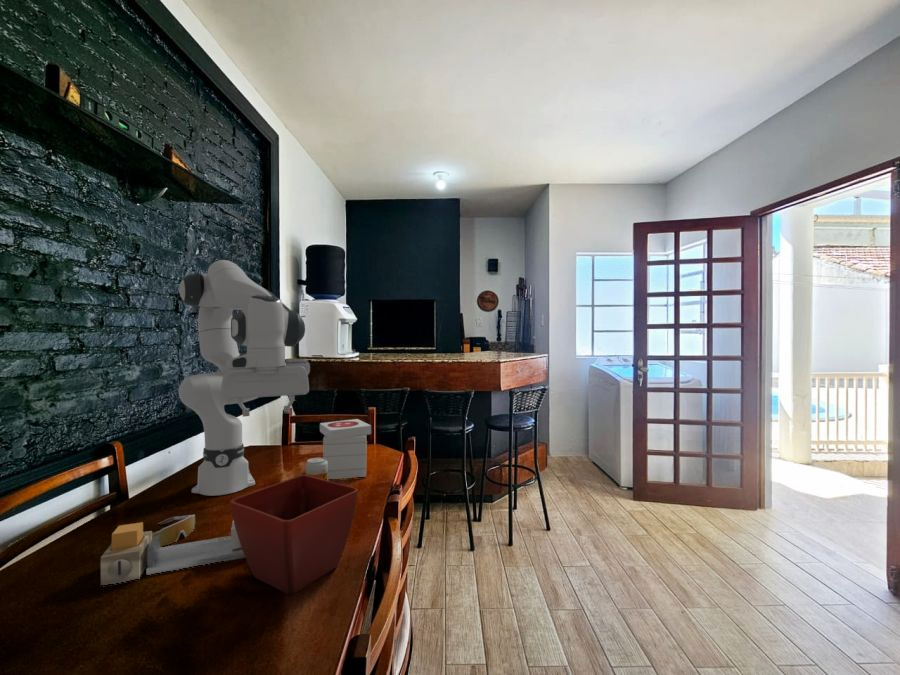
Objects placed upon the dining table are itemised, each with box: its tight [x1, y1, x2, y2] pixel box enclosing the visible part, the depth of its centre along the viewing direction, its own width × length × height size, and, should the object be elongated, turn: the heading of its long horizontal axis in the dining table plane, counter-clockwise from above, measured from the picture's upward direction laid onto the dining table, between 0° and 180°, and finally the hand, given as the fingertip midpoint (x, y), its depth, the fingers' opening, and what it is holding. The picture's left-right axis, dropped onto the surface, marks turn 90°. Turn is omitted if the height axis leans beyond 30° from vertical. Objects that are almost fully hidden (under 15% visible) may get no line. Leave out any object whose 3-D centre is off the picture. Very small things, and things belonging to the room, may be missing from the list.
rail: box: [145, 535, 246, 576], centre depth 98 cm, size 8×25×6 cm, turn 113°
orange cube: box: [111, 521, 144, 551], centre depth 91 cm, size 4×4×4 cm
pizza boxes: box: [319, 418, 372, 480], centre depth 162 cm, size 19×30×18 cm, turn 11°
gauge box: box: [100, 530, 153, 586], centre depth 91 cm, size 11×6×6 cm, turn 23°
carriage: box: [230, 520, 241, 549], centre depth 100 cm, size 7×7×9 cm
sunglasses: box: [152, 514, 196, 547], centre depth 107 cm, size 14×15×5 cm
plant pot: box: [229, 474, 359, 595], centre depth 90 cm, size 19×19×17 cm
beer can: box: [305, 456, 329, 481], centre depth 122 cm, size 6×6×15 cm
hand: (266, 414), depth 106 cm, fingers open, 8 cm apart
